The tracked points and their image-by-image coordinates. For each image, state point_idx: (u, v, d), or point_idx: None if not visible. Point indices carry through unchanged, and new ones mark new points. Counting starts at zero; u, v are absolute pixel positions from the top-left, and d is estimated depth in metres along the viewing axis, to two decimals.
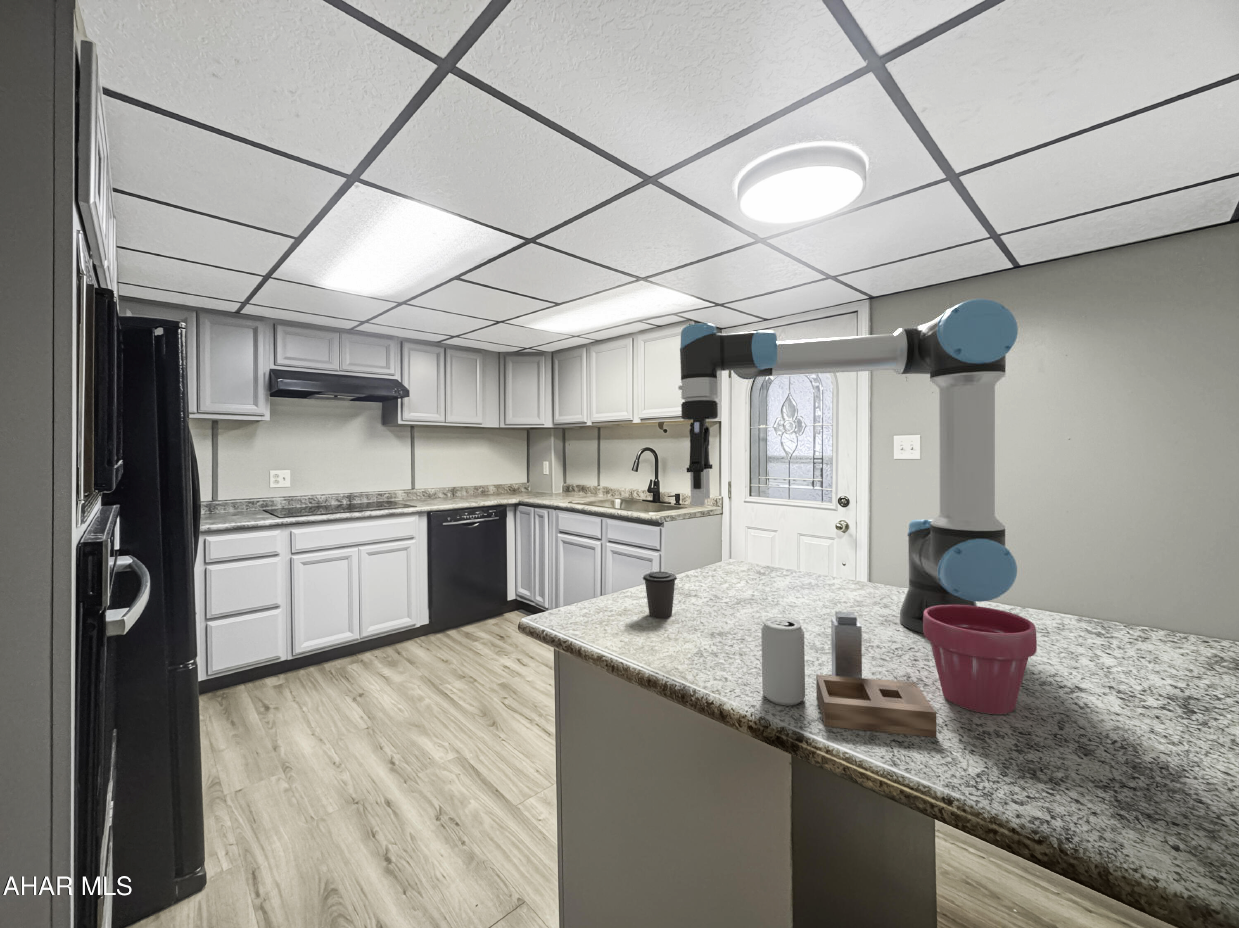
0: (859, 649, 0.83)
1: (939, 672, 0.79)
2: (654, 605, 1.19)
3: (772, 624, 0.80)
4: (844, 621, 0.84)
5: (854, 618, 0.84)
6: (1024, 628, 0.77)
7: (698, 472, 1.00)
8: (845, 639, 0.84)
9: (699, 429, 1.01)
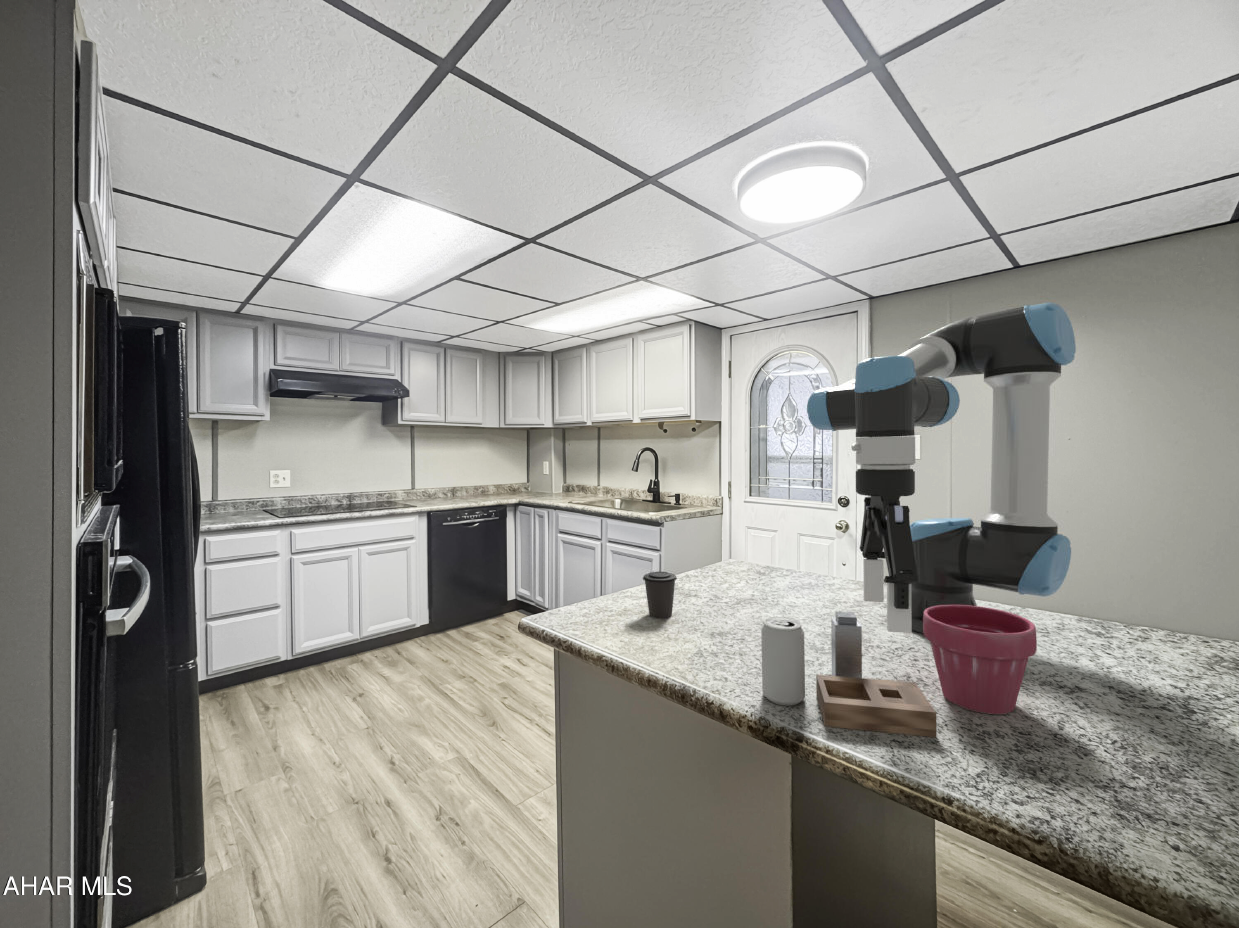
0: (859, 649, 0.83)
1: (939, 672, 0.79)
2: (654, 605, 1.19)
3: (772, 624, 0.80)
4: (844, 621, 0.84)
5: (854, 618, 0.84)
6: (1024, 628, 0.77)
7: (906, 584, 0.65)
8: (845, 639, 0.84)
9: (903, 517, 0.67)
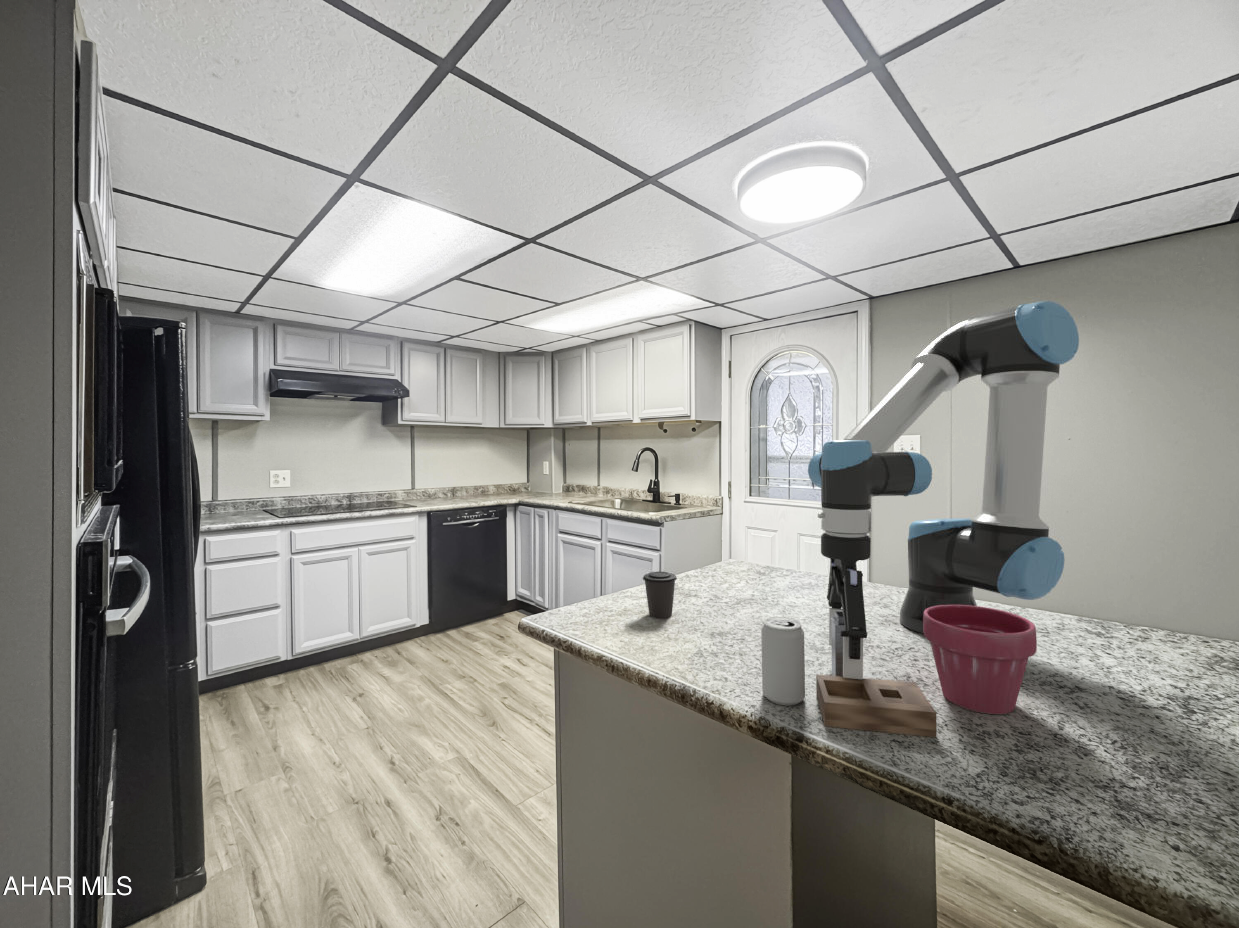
0: None
1: (939, 672, 0.79)
2: (654, 605, 1.19)
3: (772, 624, 0.80)
4: None
5: None
6: (1024, 628, 0.77)
7: (858, 639, 0.77)
8: None
9: (857, 581, 0.79)
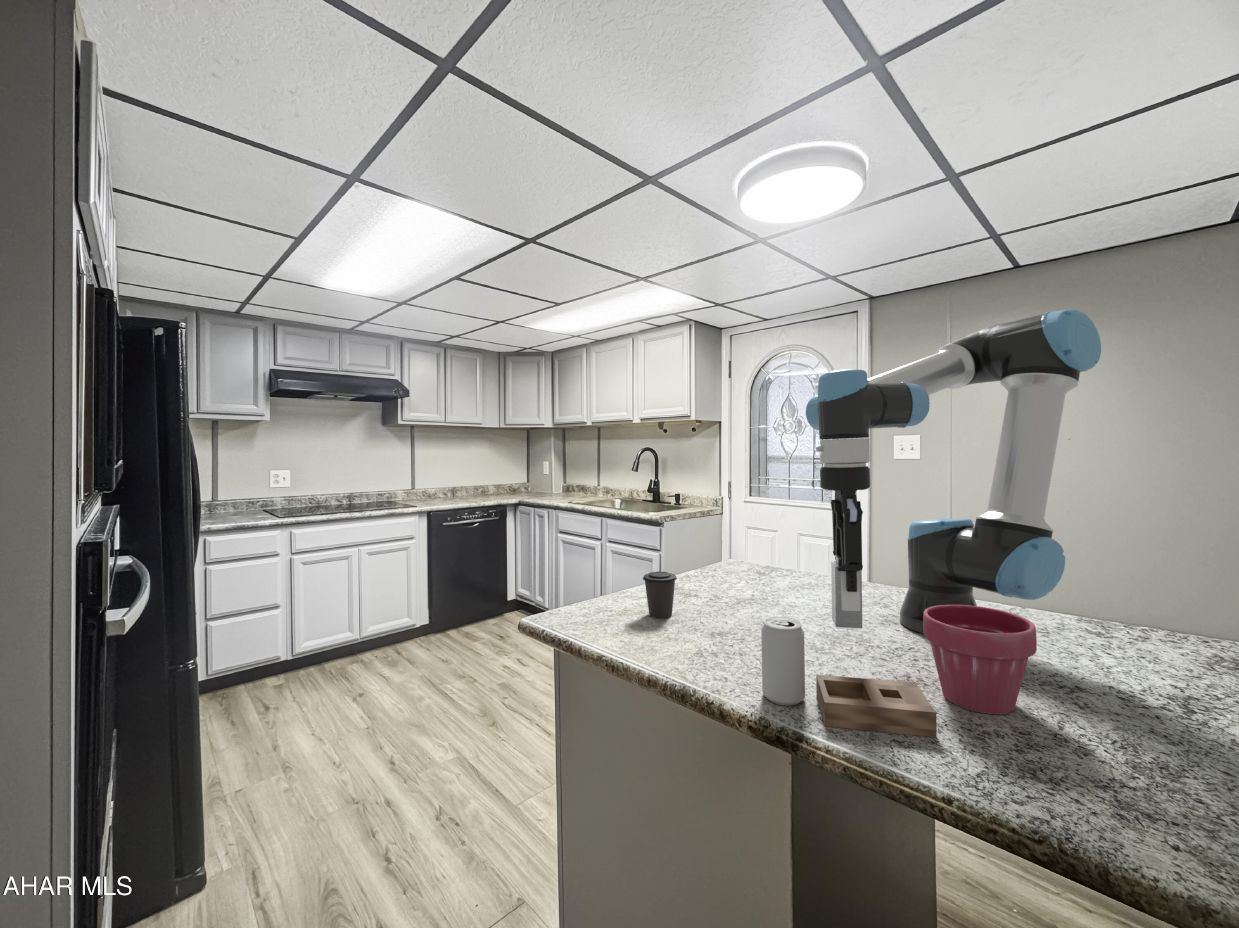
0: None
1: (939, 672, 0.79)
2: (654, 605, 1.19)
3: (772, 624, 0.80)
4: None
5: None
6: (1024, 628, 0.77)
7: (854, 572, 0.82)
8: None
9: (857, 519, 0.79)
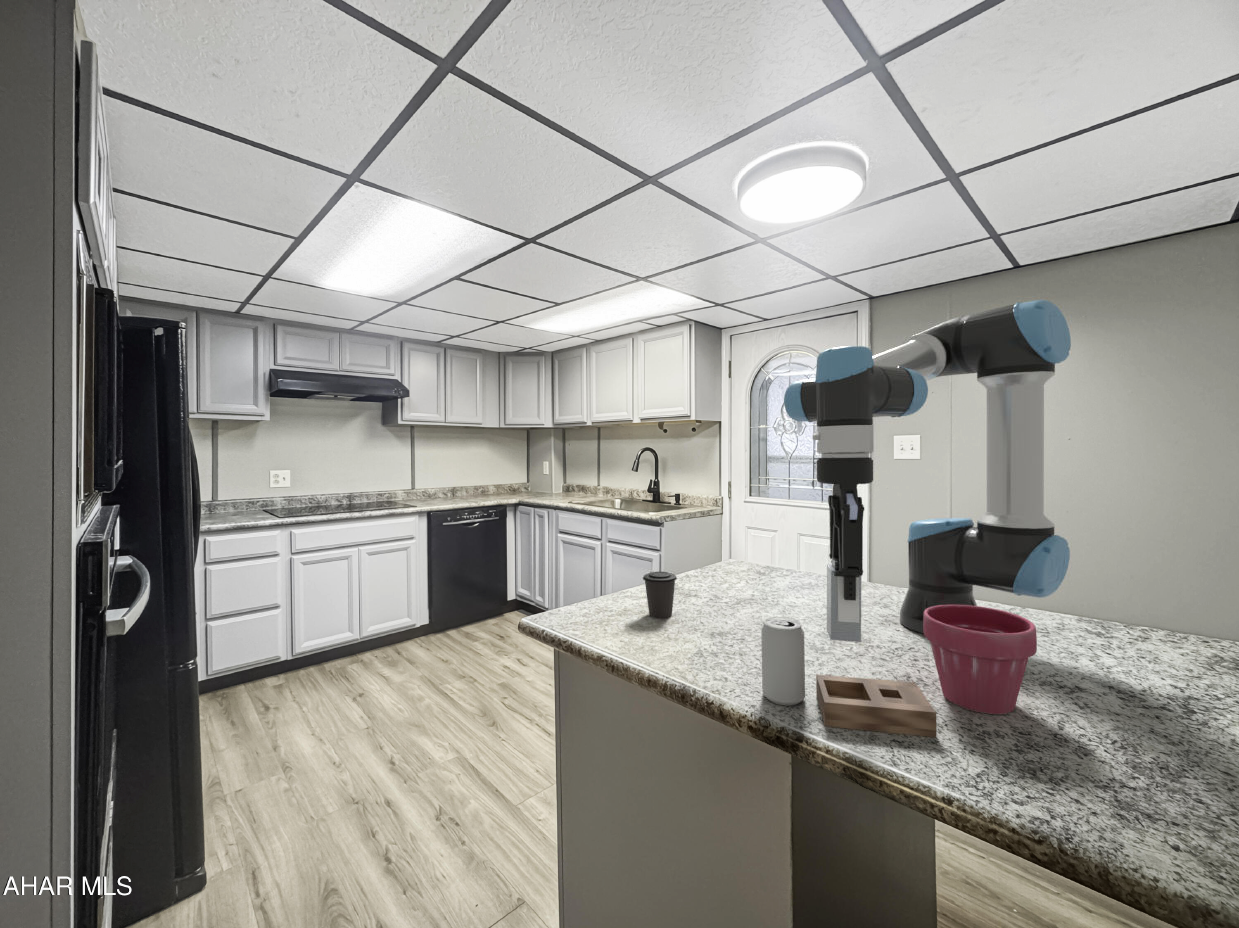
0: None
1: (939, 672, 0.79)
2: (654, 605, 1.19)
3: (772, 624, 0.80)
4: None
5: None
6: (1024, 628, 0.77)
7: (853, 578, 0.71)
8: None
9: (857, 517, 0.69)
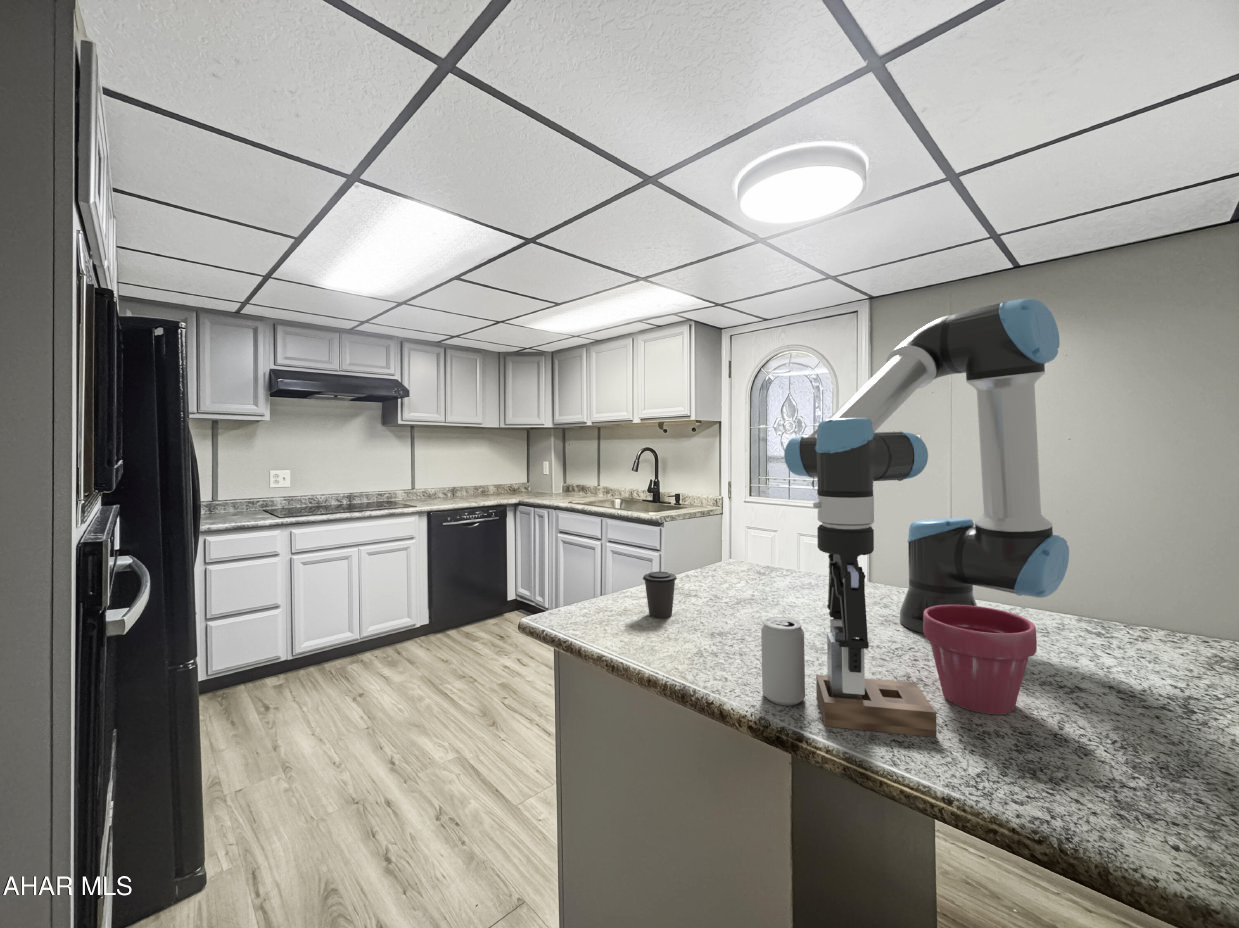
0: None
1: (939, 672, 0.79)
2: (654, 605, 1.19)
3: (772, 624, 0.80)
4: (842, 638, 0.74)
5: None
6: (1024, 628, 0.77)
7: (858, 649, 0.69)
8: None
9: (859, 584, 0.68)
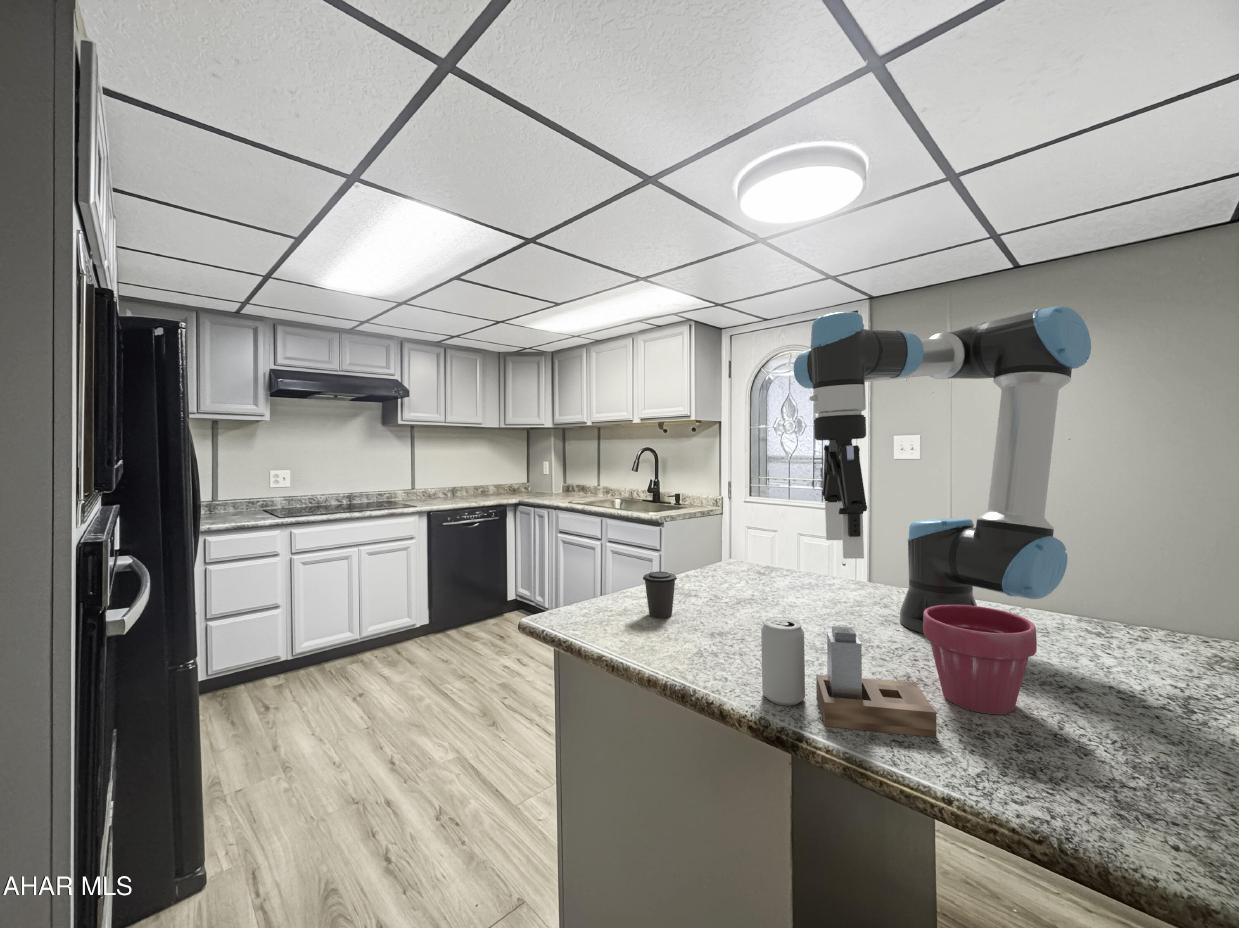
0: (859, 670, 0.73)
1: (939, 672, 0.79)
2: (654, 605, 1.19)
3: (772, 624, 0.80)
4: (842, 638, 0.74)
5: (853, 634, 0.74)
6: (1024, 628, 0.77)
7: (857, 514, 0.73)
8: (842, 658, 0.74)
9: (854, 455, 0.75)
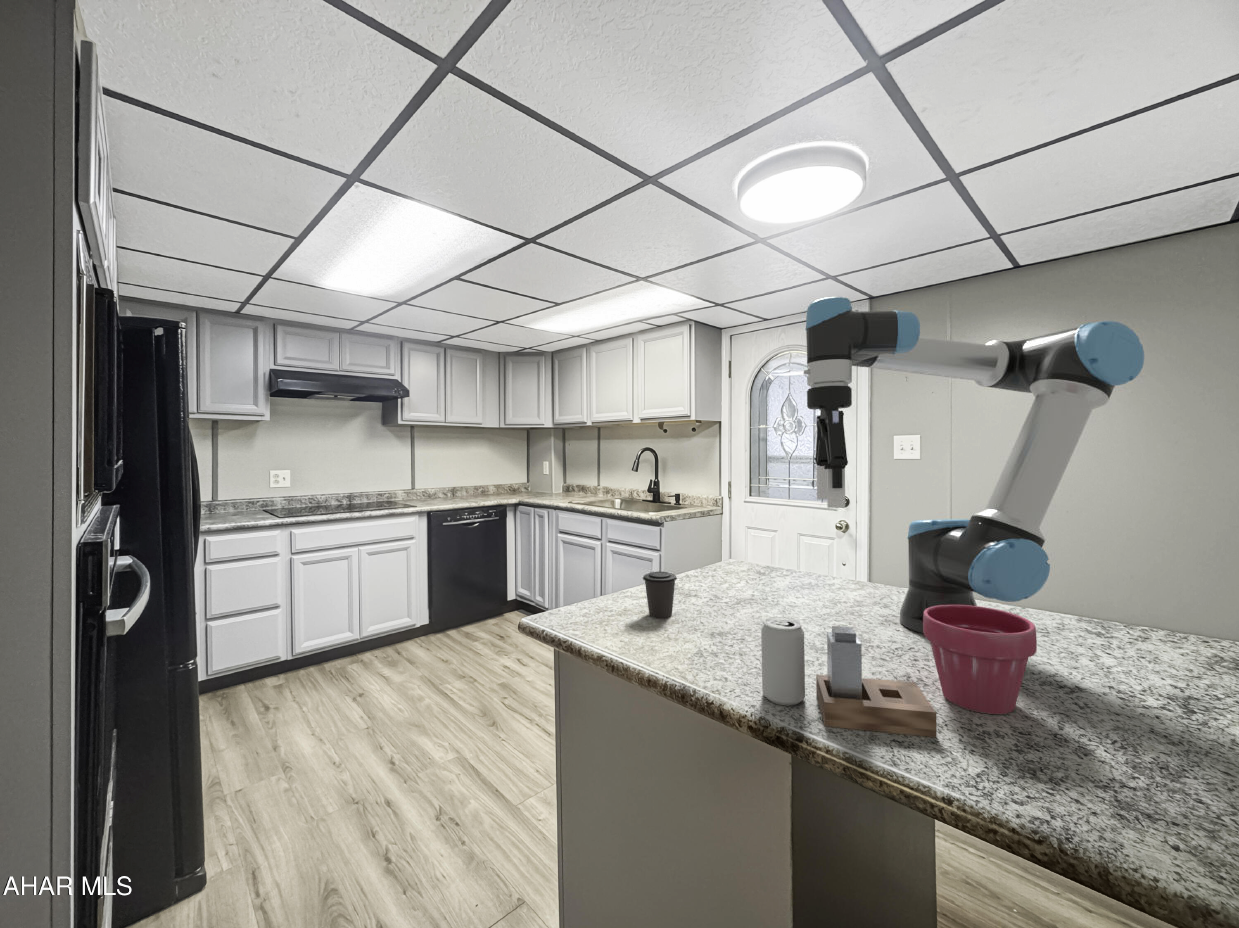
0: (859, 670, 0.73)
1: (939, 672, 0.79)
2: (654, 605, 1.19)
3: (772, 624, 0.80)
4: (842, 638, 0.74)
5: (853, 634, 0.74)
6: (1024, 628, 0.77)
7: (839, 469, 0.86)
8: (842, 658, 0.74)
9: (839, 419, 0.87)
